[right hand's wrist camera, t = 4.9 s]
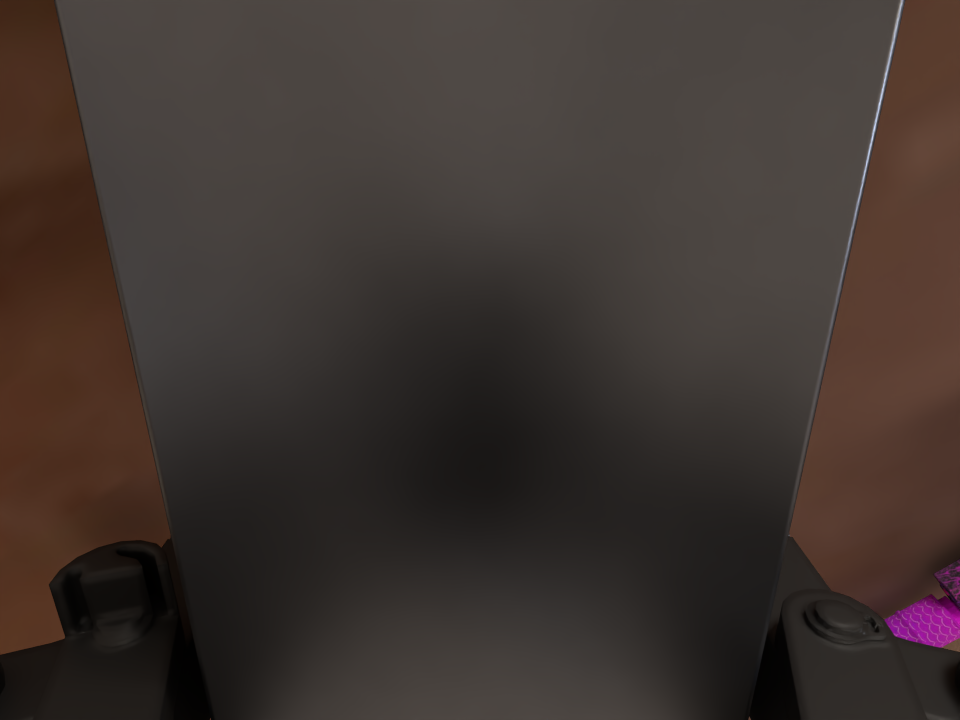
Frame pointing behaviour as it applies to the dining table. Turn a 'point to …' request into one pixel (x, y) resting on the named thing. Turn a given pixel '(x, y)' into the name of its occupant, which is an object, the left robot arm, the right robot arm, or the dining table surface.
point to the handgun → (932, 613)
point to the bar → (479, 332)
